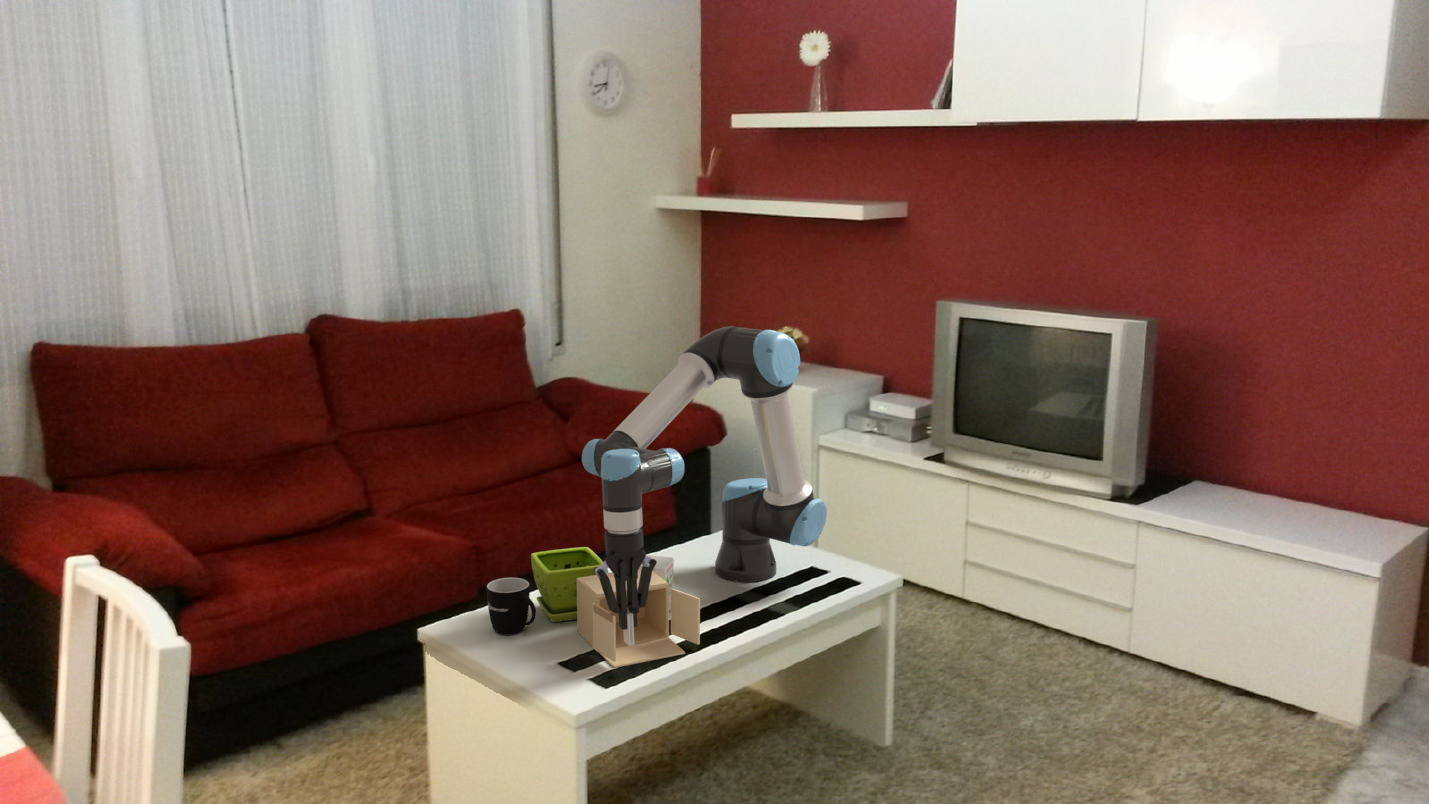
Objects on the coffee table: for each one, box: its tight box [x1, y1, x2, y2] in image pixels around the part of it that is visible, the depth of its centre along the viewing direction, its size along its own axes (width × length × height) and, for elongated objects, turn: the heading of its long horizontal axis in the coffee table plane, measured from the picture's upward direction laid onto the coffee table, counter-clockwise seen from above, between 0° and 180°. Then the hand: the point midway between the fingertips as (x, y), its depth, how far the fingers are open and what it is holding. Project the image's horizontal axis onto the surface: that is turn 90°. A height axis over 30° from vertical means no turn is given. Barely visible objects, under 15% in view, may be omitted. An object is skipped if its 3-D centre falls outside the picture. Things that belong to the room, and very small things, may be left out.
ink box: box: [640, 554, 674, 612], centre depth 252 cm, size 8×8×12 cm
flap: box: [592, 603, 616, 662], centre depth 225 cm, size 8×1×10 cm, turn 37°
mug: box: [486, 577, 537, 636], centre depth 240 cm, size 12×9×10 cm
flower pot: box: [530, 546, 604, 623], centre depth 251 cm, size 14×14×13 cm
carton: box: [576, 568, 701, 669], centre depth 236 cm, size 19×20×12 cm
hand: (629, 643), depth 225 cm, fingers closed
